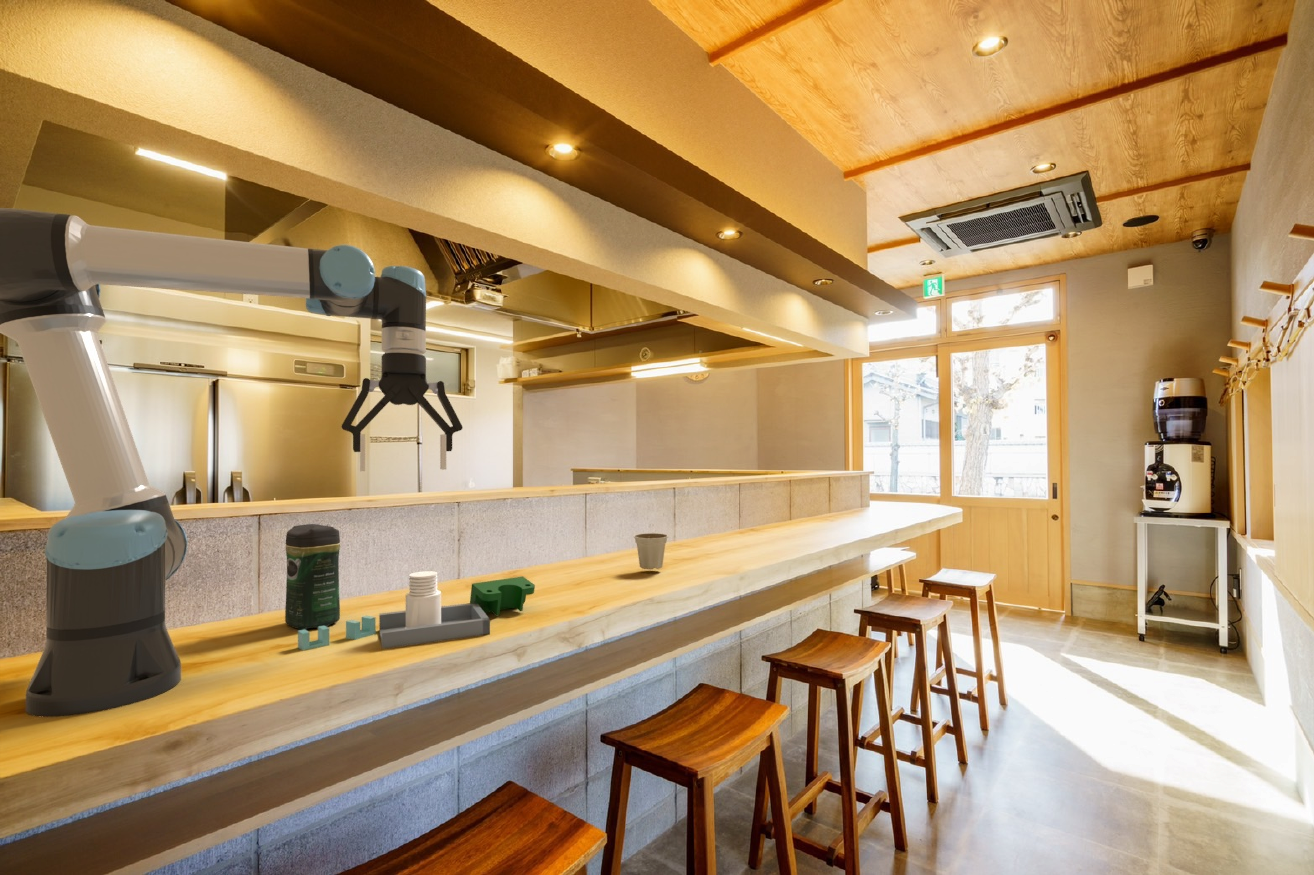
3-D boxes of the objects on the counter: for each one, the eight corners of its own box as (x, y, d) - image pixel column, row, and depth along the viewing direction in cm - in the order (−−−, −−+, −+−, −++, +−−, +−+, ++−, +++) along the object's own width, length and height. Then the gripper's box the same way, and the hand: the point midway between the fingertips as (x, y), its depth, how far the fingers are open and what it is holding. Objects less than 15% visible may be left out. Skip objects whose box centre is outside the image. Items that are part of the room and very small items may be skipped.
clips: (304, 653, 97) (304, 634, 98) (296, 649, 99) (296, 630, 100) (377, 635, 107) (377, 618, 107) (369, 631, 109) (369, 615, 109)
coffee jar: (347, 623, 114) (347, 523, 115) (302, 633, 108) (302, 528, 108) (322, 614, 120) (322, 520, 120) (278, 624, 114) (278, 524, 114)
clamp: (490, 638, 117) (476, 599, 114) (476, 625, 122) (463, 588, 118) (543, 605, 124) (532, 568, 121) (528, 594, 128) (517, 558, 125)
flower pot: (668, 571, 160) (668, 538, 161) (632, 571, 161) (632, 538, 161) (668, 564, 170) (668, 533, 170) (634, 564, 170) (634, 533, 170)
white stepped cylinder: (413, 624, 111) (413, 569, 111) (451, 624, 111) (451, 569, 111) (393, 638, 103) (393, 578, 103) (434, 638, 103) (434, 578, 103)
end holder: (382, 652, 98) (382, 633, 98) (379, 630, 110) (379, 613, 110) (489, 636, 105) (489, 619, 106) (476, 618, 117) (476, 602, 117)
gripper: (325, 346, 103) (325, 472, 102) (477, 355, 114) (477, 469, 113) (327, 352, 109) (327, 471, 109) (471, 360, 120) (471, 468, 120)
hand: (404, 470), depth 111 cm, fingers open, 13 cm apart
